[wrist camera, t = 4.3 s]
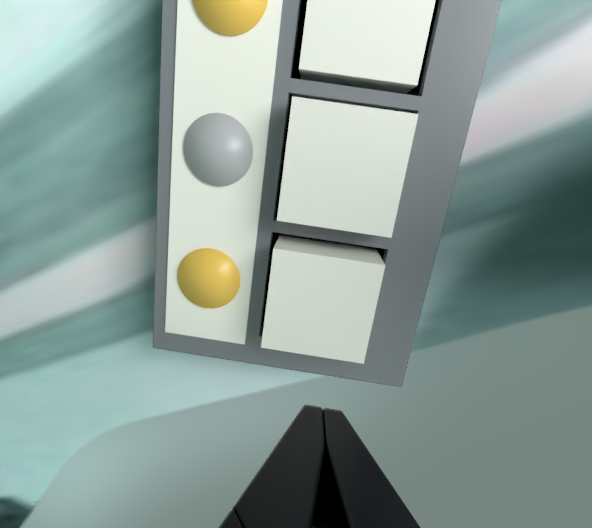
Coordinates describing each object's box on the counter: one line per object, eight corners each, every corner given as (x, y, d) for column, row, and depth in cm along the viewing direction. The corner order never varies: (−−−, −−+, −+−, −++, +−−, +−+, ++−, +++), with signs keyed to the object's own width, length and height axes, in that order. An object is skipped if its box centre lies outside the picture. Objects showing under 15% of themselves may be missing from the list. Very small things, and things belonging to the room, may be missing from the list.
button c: (376, 249, 17) (385, 265, 14) (358, 336, 18) (363, 363, 16) (280, 234, 17) (273, 248, 15) (268, 321, 18) (260, 347, 16)
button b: (403, 120, 15) (418, 114, 13) (381, 225, 16) (391, 237, 14) (296, 104, 15) (292, 96, 13) (283, 210, 17) (276, 220, 14)
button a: (427, -25, 15) (448, -59, 12) (403, 95, 16) (417, 85, 14) (317, -40, 15) (316, -77, 12) (302, 80, 16) (298, 68, 14)
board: (490, -62, 15) (534, -117, 12) (390, 354, 20) (402, 389, 17) (196, -100, 15) (164, -163, 12) (176, 320, 21) (151, 349, 18)
